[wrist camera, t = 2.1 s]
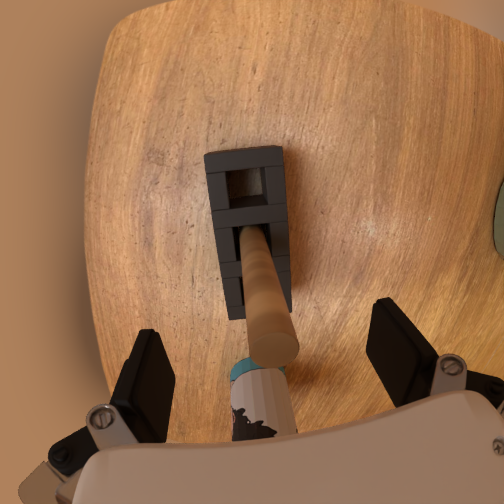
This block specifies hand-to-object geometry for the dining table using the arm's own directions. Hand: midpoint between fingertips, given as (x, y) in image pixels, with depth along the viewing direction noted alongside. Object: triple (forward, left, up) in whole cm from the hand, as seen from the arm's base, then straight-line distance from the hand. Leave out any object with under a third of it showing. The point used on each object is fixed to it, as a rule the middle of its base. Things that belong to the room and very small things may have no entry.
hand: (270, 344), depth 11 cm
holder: (0, 0, -15) cm, 15 cm away
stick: (0, 0, -15) cm, 15 cm away
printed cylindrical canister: (+19, -1, -15) cm, 24 cm away
